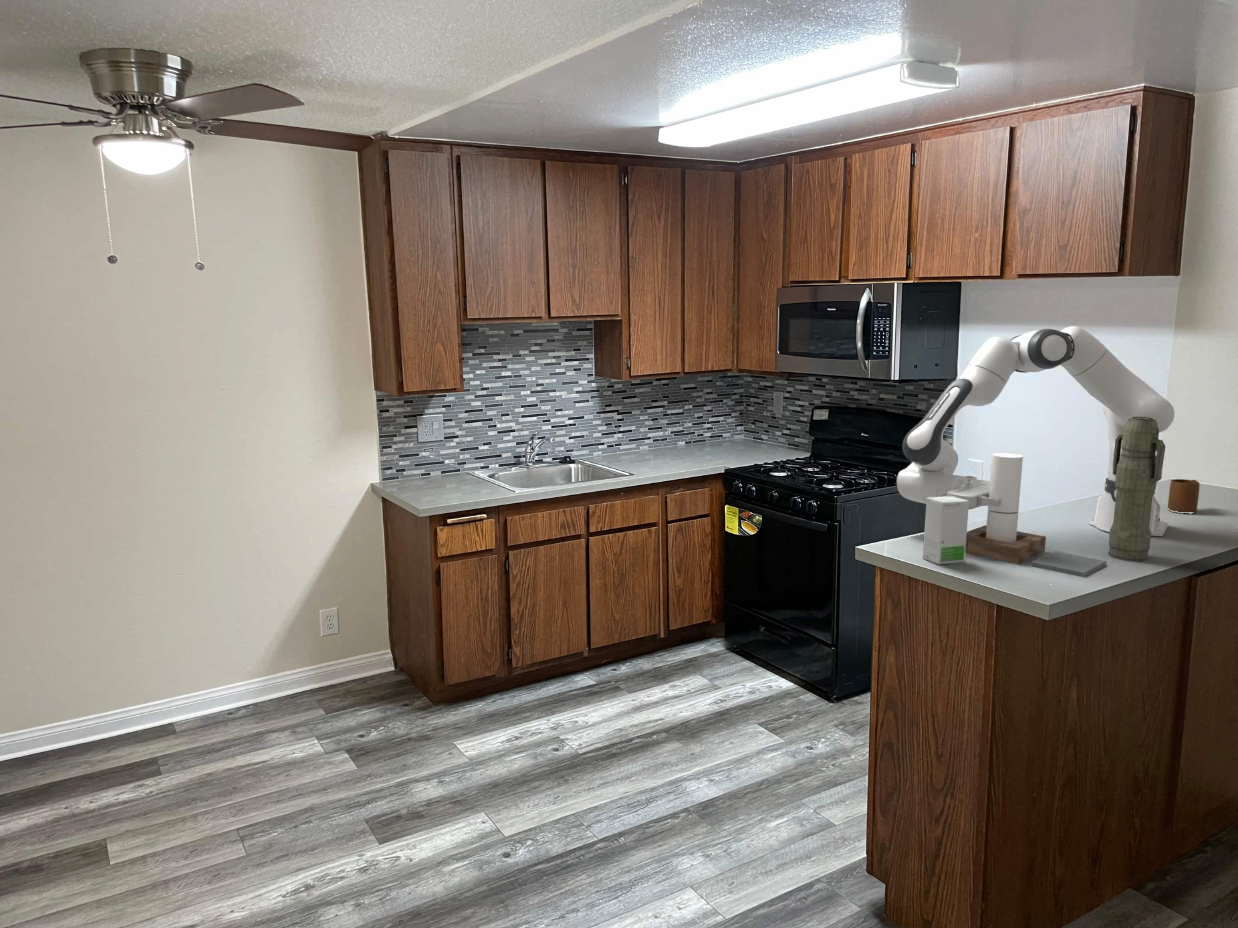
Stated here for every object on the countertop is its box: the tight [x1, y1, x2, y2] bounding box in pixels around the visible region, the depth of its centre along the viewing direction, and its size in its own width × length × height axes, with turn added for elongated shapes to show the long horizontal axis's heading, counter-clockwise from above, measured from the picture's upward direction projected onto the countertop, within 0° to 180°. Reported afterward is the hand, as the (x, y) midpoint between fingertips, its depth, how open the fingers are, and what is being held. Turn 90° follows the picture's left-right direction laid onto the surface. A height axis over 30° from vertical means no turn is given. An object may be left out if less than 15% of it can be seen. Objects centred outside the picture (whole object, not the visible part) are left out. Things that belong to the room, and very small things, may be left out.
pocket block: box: [965, 524, 1047, 565], centre depth 231 cm, size 16×16×4 cm
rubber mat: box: [1031, 550, 1107, 578], centre depth 219 cm, size 14×12×1 cm
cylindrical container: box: [986, 452, 1024, 543], centre depth 229 cm, size 7×7×25 cm
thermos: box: [1107, 417, 1166, 562], centre depth 224 cm, size 9×12×35 cm
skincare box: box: [922, 496, 970, 565], centre depth 222 cm, size 8×7×16 cm
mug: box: [1167, 478, 1200, 513], centre depth 275 cm, size 12×8×9 cm, turn 126°
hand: (1007, 500), depth 228 cm, fingers closed on cylindrical container, 7 cm apart
